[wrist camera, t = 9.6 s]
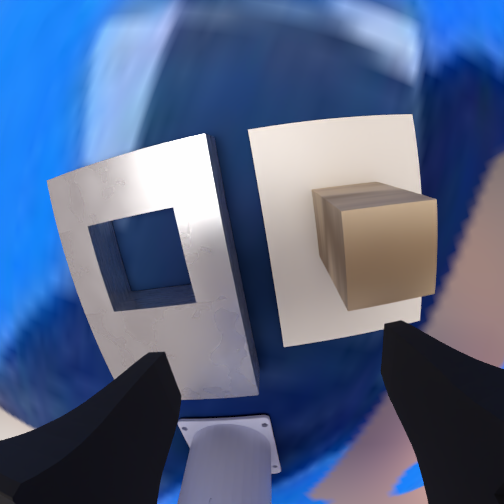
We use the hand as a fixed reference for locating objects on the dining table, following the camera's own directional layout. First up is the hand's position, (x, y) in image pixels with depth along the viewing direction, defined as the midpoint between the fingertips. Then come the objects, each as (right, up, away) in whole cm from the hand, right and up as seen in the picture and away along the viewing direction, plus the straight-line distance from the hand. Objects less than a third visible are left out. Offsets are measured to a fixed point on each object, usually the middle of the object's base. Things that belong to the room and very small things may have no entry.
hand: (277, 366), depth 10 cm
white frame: (-7, +2, +10) cm, 12 cm away
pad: (+5, +5, +9) cm, 12 cm away
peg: (+5, +6, +8) cm, 11 cm away
